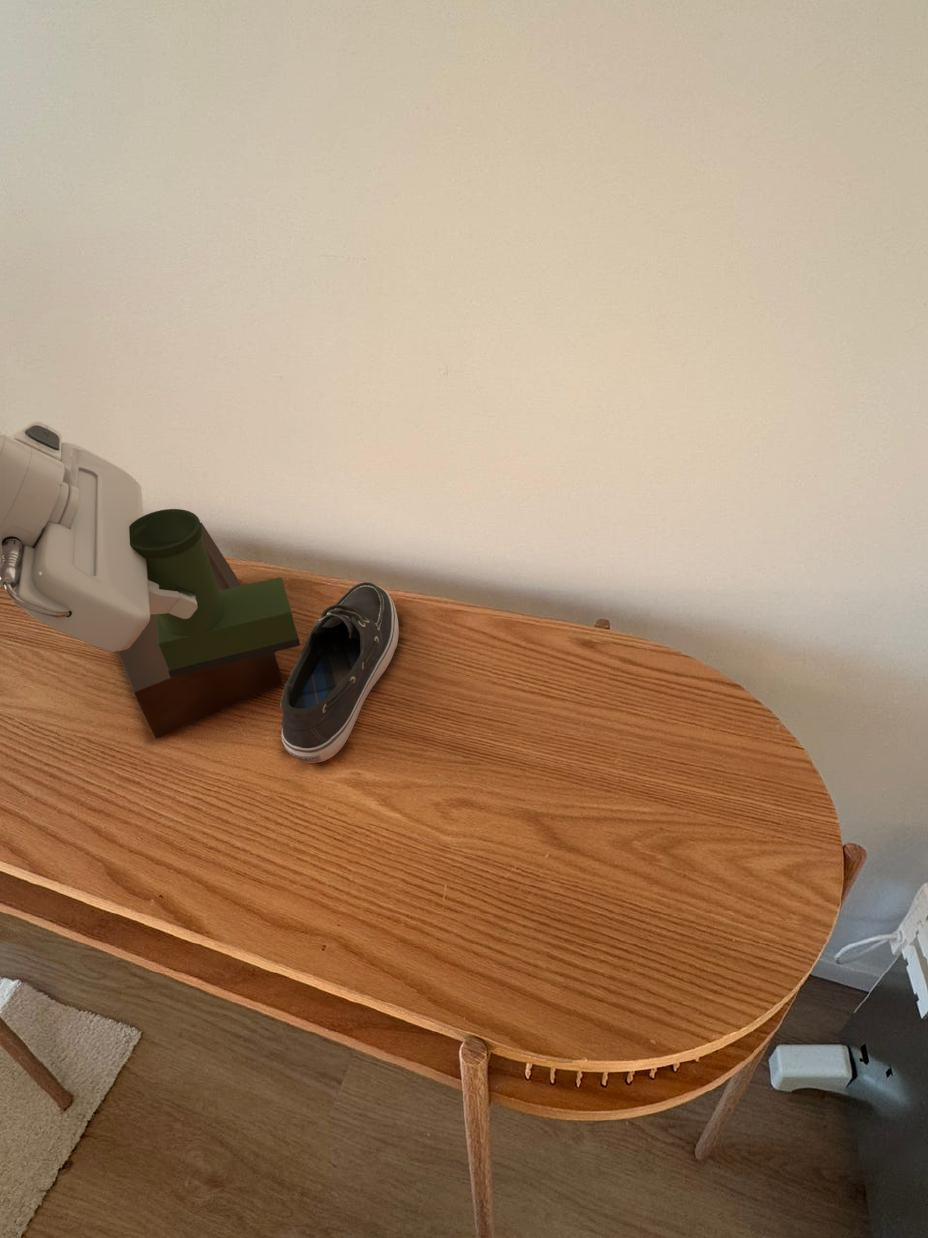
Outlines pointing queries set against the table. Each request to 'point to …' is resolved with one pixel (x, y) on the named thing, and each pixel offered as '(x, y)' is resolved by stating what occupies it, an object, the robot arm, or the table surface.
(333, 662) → the boat shoe
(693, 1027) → the table surface
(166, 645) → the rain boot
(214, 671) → the shoe bench
